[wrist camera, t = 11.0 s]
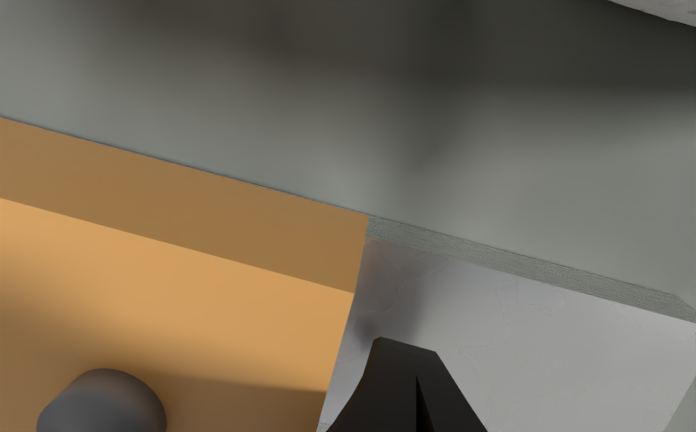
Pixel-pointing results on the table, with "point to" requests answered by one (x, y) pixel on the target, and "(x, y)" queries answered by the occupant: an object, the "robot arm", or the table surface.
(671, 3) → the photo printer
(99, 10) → the table surface
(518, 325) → the mounting rail
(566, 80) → the table surface
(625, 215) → the table surface
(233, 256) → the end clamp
